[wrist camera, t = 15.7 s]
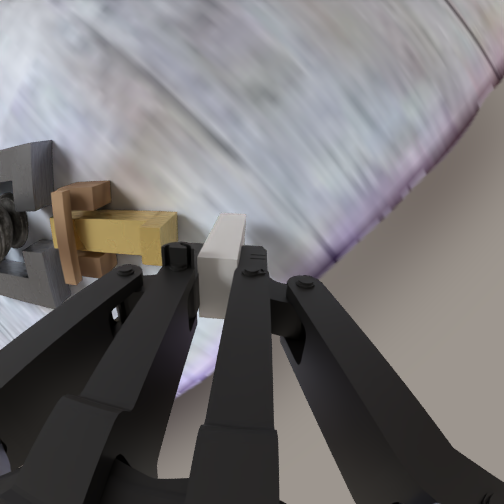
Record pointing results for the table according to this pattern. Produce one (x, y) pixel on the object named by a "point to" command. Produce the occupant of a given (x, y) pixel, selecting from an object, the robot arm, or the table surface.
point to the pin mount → (63, 203)
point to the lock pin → (123, 232)
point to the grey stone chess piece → (11, 225)
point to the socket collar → (42, 252)
